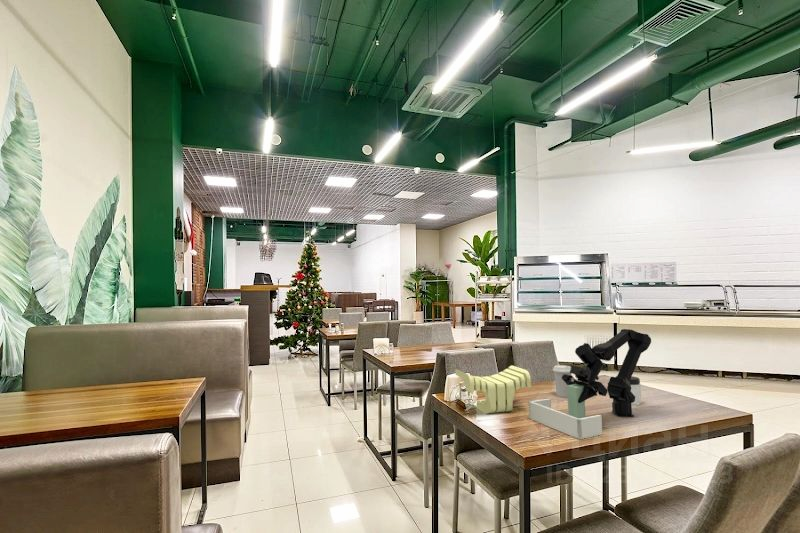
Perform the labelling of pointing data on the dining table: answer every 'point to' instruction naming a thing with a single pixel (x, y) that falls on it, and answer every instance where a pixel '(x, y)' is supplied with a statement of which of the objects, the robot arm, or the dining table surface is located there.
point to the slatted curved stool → (497, 388)
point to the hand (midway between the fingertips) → (573, 401)
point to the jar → (636, 390)
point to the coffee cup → (560, 384)
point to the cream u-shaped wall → (565, 420)
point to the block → (575, 401)
